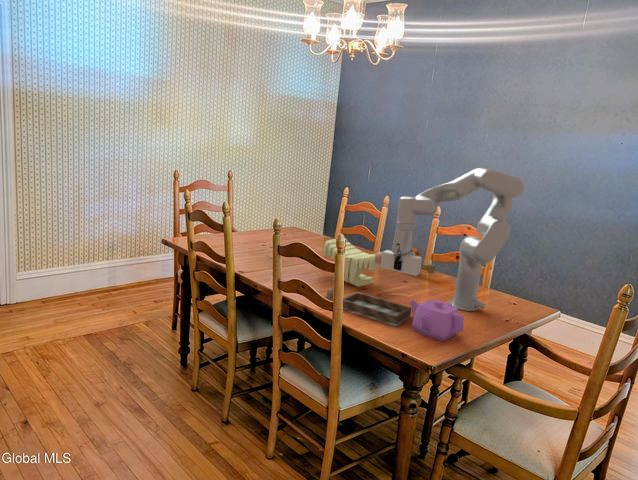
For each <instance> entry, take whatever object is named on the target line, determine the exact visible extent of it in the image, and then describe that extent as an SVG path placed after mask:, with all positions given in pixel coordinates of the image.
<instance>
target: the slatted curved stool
mask: <svg viewBox="0 0 638 480" xmlns="http://www.w3.org/2000/svg"><path fill="white" fill-rule="evenodd" d="M344 238H345V240H346V247H345V283H347V284H351V285H353V286H355V287H362V286H366V285H369V284H373V283H375V280H374V278H373V276H368V275H366V274H363V273H361V272H362V271H363V269H364V268H365V269H368V270H369V271H370V272H374V271H377V270H378V268H379V265H380V264H379V263H376V262H375V256H376V254H373V253H371V254H370V253H367V252H364V251H362V250H360V249H359V248H356V246H354V245H352V243H351V242H350V241H348V240H347V238H346V237H344ZM336 239H337V238H333V239H328V240H326V241H325V243H324V244H323V248H322V256H326V257H330V258H331V259H332V260H333V261H335V260H334V259H335V254H336V250H337V248H336Z"/></svg>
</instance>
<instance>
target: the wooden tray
mask: <svg viewBox="0 0 638 480" xmlns="http://www.w3.org/2000/svg"><path fill="white" fill-rule="evenodd" d="M342 299H343V309H344V310H343V311H345V310H346V311H345V312H348V311H350V312H349V313H351V312H353V313H352V314H354V313H356V314H355V315H357V314H359V315H358V316H360V315H362V316H361V317H364V316H365V317H364V318H367V317H369V318H368V319H370V318H372V319H371V320H373V319H375V320H374V321H376V320H378V321H377V322H379V321H381V322H380V323H382V322H384V323H383V324H386V323H387V324H386V325H389V324H390V325H389V326H392V325H393V326H392V327H395V326H396V327H397V326H399V325H400V324H402V323H403V322H404V321H406V320H408V319H409V318H410V317H411V313H412V312H411V311H412V307H411V306H407V305H404V304H401V303H397V302H393V301H389V300H386V299H383V298H379V297H378V296H373V295H370V294H366V293H362V292H359V291H356V292H354V293H352V294H350V295H347V296H345V297H343V298H342Z"/></svg>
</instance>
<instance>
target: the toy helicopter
mask: <svg viewBox="0 0 638 480" xmlns="http://www.w3.org/2000/svg"><path fill="white" fill-rule="evenodd" d="M411 250H412V251H413V252H409V255H413V256H418V257H421V255H420V252H419V251H418V248H416V247H414V246H411ZM421 270H423V271H426V273H428V275H429V274H434V273H435V272H436V267H435V265H434V264H432V263H430V264H428V263H427V264H426V263H425V262H421Z"/></svg>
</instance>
